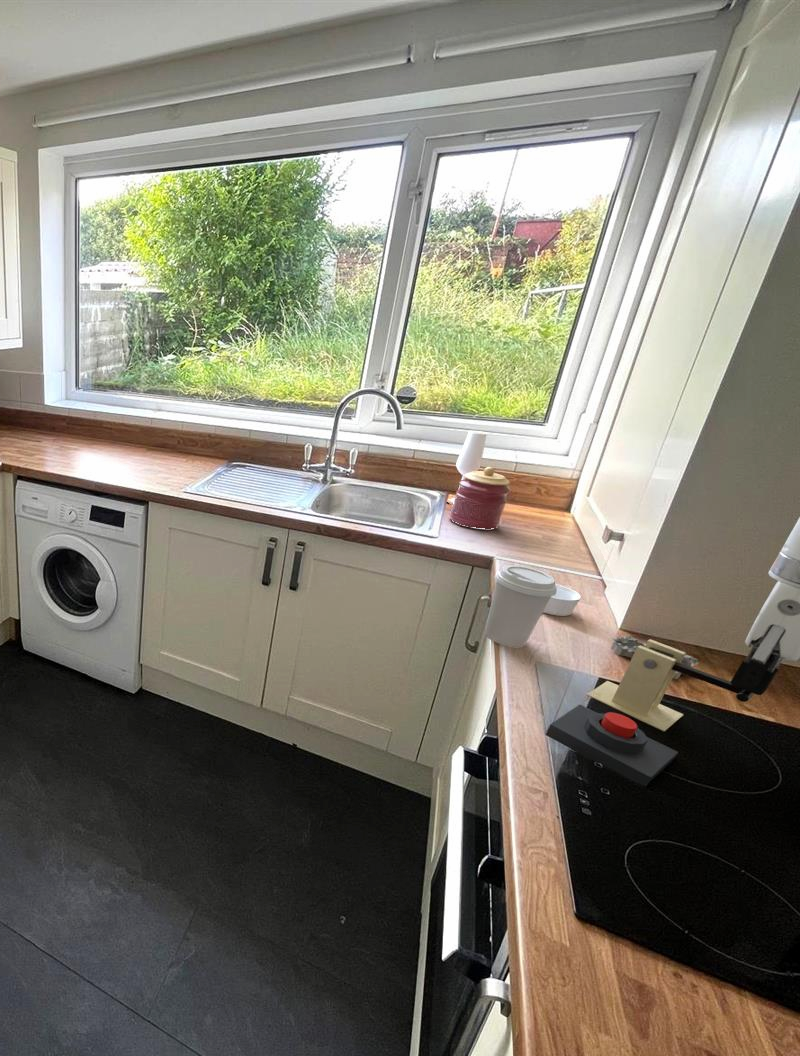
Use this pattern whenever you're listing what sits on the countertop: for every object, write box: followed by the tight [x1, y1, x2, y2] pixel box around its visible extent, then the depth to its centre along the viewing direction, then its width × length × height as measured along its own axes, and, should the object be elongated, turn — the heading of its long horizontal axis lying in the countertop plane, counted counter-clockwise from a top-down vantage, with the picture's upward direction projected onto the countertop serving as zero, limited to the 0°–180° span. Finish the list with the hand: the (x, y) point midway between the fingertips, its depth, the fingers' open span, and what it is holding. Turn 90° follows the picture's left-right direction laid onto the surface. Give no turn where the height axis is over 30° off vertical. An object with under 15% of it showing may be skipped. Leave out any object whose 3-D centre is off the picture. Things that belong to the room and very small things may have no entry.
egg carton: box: [610, 635, 700, 680], centre depth 107 cm, size 11×8×4 cm
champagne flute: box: [449, 430, 488, 503], centre depth 189 cm, size 7×7×24 cm
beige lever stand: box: [586, 638, 687, 733], centre depth 93 cm, size 10×8×12 cm
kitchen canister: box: [449, 466, 511, 529], centre depth 173 cm, size 13×13×18 cm
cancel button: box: [601, 711, 638, 738], centre depth 85 cm, size 4×4×2 cm
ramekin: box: [542, 583, 582, 617], centre depth 127 cm, size 9×9×4 cm
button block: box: [545, 704, 679, 786], centre depth 86 cm, size 12×10×4 cm
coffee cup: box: [483, 564, 557, 649], centre depth 110 cm, size 10×10×15 cm
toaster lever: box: [649, 647, 755, 703], centre depth 88 cm, size 12×5×2 cm, turn 30°
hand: (746, 687), depth 83 cm, fingers closed
